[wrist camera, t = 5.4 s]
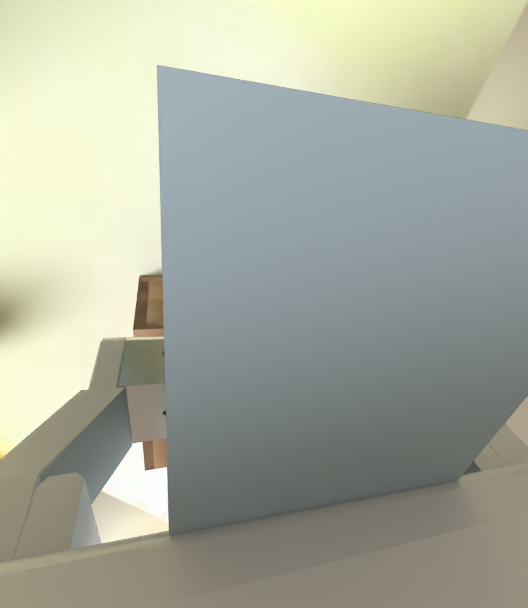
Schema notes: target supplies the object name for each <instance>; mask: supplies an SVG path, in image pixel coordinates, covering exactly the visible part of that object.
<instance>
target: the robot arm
mask: <svg viewBox="0 0 528 608" xmlns="http://www.w3.org/2000/svg"><path fill="white" fill-rule="evenodd" d="M164 438H167V435H166V396H165V357H164V337H127V338H103V339H102V341H101V342H100V346H99V350H98V354H97V358H96V362H95V366H94V369H93V373H92V377H91V381H90V385H89V389H88V390H81V391H80V392H78V393H77V394H76V395H75V396H74V397H73V398H72V399H70V400H69V401H68V402H67V403H66V404H65V405H63V406H62V407H61V408H60V409H59V410H58V411H56V412H55V413H54V414H53V415H52V416H51V417H49V418H48V419H47V420H46V421H45V422H44V423H43V424H41V425H40V426H39V427H38V428H37V429H36V430H34V431H33V432H32V433H31V434H30V435H29V436H27V437H26V438H25V439H24V440H23V441H22V442H21V443H19V444H18V445H17V446H16V447H15V448H14V449H12V450H11V451H10V452H9V453H8V454H7V455H5V456H4V457H3V458H2V459H1V460H0V608H528V447H527V445H526V444H525V443H524V442H523V441H522V440H521V439H520V438H519V437H518V436H517V435H516V434H515V433H514V432H513V431H512V430H511V429H510V428H509V427H508V426H507V425H506V424H504V425H503V426H502V427H501V428H500V430H499V431H498V432H497V433H496V435H495V436H494V437H493V438H492V439H491V441H490V442H489V443H488V444H487V445H486V447H485V448H484V449H483V450H482V451H481V453H480V454H479V455H478V456H477V458H476V459H475V460H474V461H473V462H472V464H471V465H470V466H469V467H468V468H467V470H466V471H465V472H464V473H463V475H462V476H461V477H460V478H459V479H458V480H456V481H451V482H445V483H440V484H435V485H430V486H425V487H420V488H415V489H410V490H404V491H399V492H394V493H389V494H384V495H379V496H373V497H368V498H363V499H358V500H353V501H348V502H343V503H337V504H332V505H327V506H322V507H317V508H312V509H307V510H301V511H296V512H291V513H286V514H281V515H276V516H271V517H265V518H260V519H255V520H250V521H245V522H240V523H234V524H229V525H224V526H219V527H214V528H209V529H204V530H198V531H193V532H188V533H183V534H178V535H173V536H169V531H165V532H159V533H155V534H150V535H144V536H139V537H133V538H128V539H123V540H118V541H113V542H107V543H102V544H101V541H100V537H99V533H98V529H97V525H96V522H95V518H94V514H93V510H92V506H91V504H92V503H93V501H94V500H95V498H96V497H97V496H98V494H99V493H100V491H101V490H102V488H103V487H104V485H105V484H106V483H107V481H108V480H109V478H110V477H111V475H112V474H113V472H114V471H115V469H116V468H117V467H118V465H119V464H120V462H121V461H122V459H123V458H124V456H125V455H126V453H127V452H128V450H129V449H130V448H131V446H132V443H137V442H144V441H151V440H157V439H164Z"/></svg>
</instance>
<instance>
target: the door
mask: <svg viewBox="0 0 528 608" xmlns="http://www.w3.org/2000/svg"><path fill="white" fill-rule="evenodd" d="M157 85H158V124H159V163H160V202H161V241H162V279H163V318H164V357H165V396H166V435H167V474H168V513H169V536H173V535H178V534H183V533H188V532H193V531H198V530H204V529H209V528H214V527H219V526H224V525H229V524H234V523H240V522H245V521H250V520H255V519H260V518H265V517H271V516H276V515H281V514H286V513H291V512H296V511H301V510H307V509H312V508H317V507H322V506H327V505H332V504H337V503H343V502H348V501H353V500H358V499H363V498H368V497H373V496H379V495H384V494H389V493H394V492H399V491H404V490H410V489H415V488H420V487H425V486H430V485H435V484H440V483H445V482H451V481H456V480H458V479H459V478H460V477H461V476H462V475H463V473H464V472H465V471H466V470H467V468H468V467H469V466H470V465H471V464H472V462H473V461H474V460H475V459H476V458H477V456H478V455H479V454H480V453H481V451H482V450H483V449H484V448H485V447H486V445H487V444H488V443H489V442H490V441H491V439H492V438H493V437H494V436H495V435H496V433H497V432H498V431H499V430H500V428H501V427H502V426H503V425H504V424H505V422H506V421H507V420H508V419H509V417H510V416H511V415H512V414H513V413H514V411H515V410H516V409H517V408H518V407H519V405H520V404H521V403H522V402H523V401H524V399H525V398H526V397H527V396H528V130H523V129H517V128H512V127H505V126H500V125H494V124H489V123H483V122H477V121H472V120H466V119H461V118H455V117H449V116H444V115H438V114H432V113H427V112H421V111H415V110H410V109H404V108H398V107H393V106H387V105H381V104H376V103H370V102H364V101H359V100H353V99H347V98H342V97H336V96H330V95H325V94H319V93H313V92H308V91H302V90H296V89H291V88H285V87H279V86H274V85H268V84H262V83H257V82H251V81H245V80H240V79H234V78H228V77H223V76H217V75H211V74H206V73H200V72H194V71H189V70H183V69H177V68H172V67H166V66H160V65H157Z"/></svg>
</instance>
